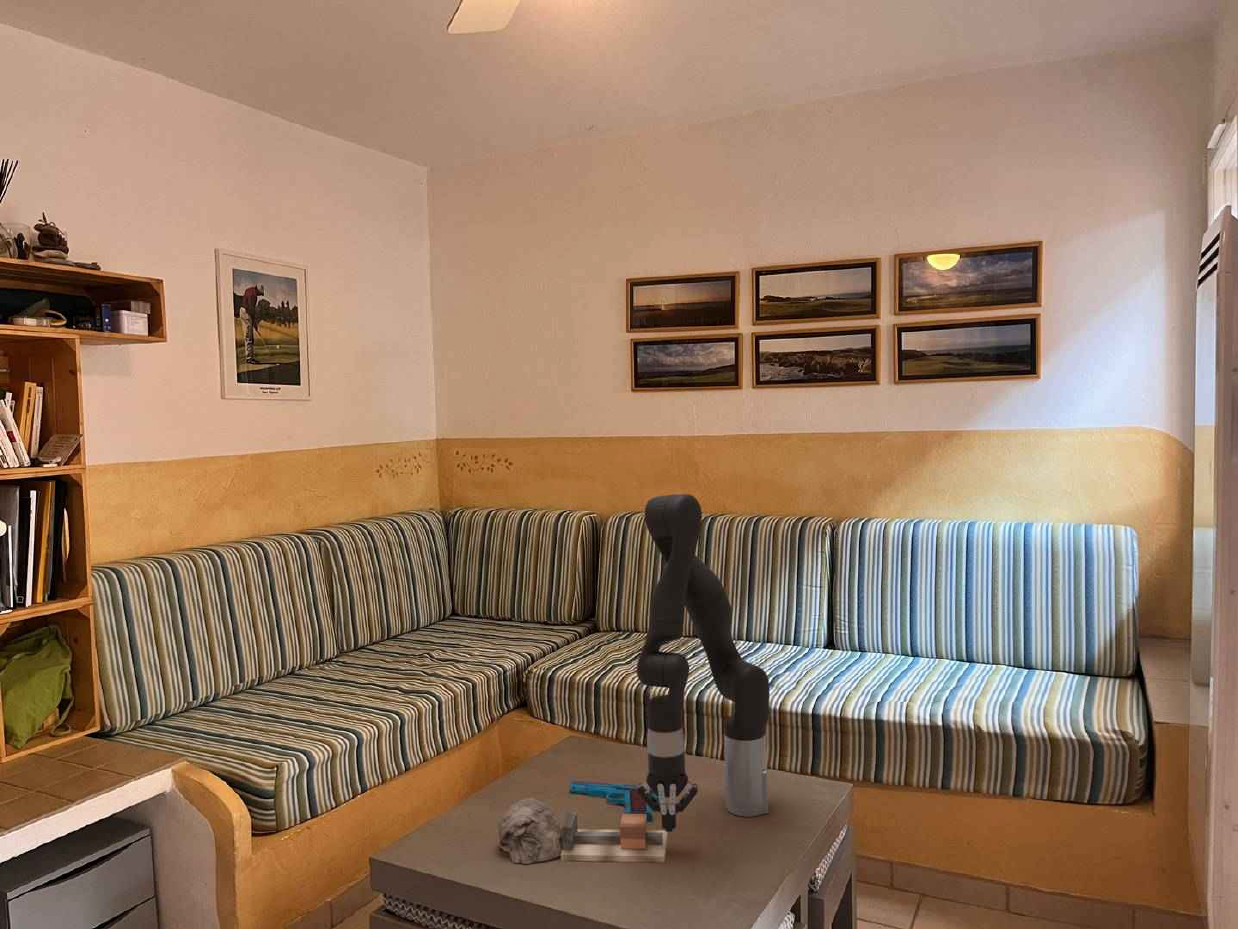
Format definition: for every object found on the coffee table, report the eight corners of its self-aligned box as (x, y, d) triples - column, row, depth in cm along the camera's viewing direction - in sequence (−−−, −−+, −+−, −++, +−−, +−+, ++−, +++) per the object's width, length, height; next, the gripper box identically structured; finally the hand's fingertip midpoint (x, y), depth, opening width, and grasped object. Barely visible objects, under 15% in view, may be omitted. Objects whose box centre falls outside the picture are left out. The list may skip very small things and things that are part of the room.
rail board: (667, 836, 200) (666, 808, 199) (664, 862, 189) (663, 833, 188) (569, 834, 202) (568, 807, 201) (561, 860, 191) (559, 832, 191)
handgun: (651, 826, 205) (667, 795, 220) (650, 813, 205) (666, 783, 219) (552, 818, 212) (575, 789, 226) (552, 806, 212) (574, 778, 226)
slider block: (647, 835, 197) (646, 814, 197) (645, 849, 192) (644, 827, 191) (623, 835, 198) (622, 813, 197) (620, 848, 192) (619, 826, 192)
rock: (576, 845, 198) (574, 799, 197) (545, 872, 187) (542, 823, 186) (517, 831, 205) (514, 787, 204) (483, 857, 194) (481, 810, 193)
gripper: (699, 741, 195) (701, 822, 197) (635, 741, 197) (638, 821, 198) (698, 755, 188) (700, 839, 189) (632, 755, 189) (635, 838, 191)
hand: (669, 830), depth 194 cm, fingers closed
